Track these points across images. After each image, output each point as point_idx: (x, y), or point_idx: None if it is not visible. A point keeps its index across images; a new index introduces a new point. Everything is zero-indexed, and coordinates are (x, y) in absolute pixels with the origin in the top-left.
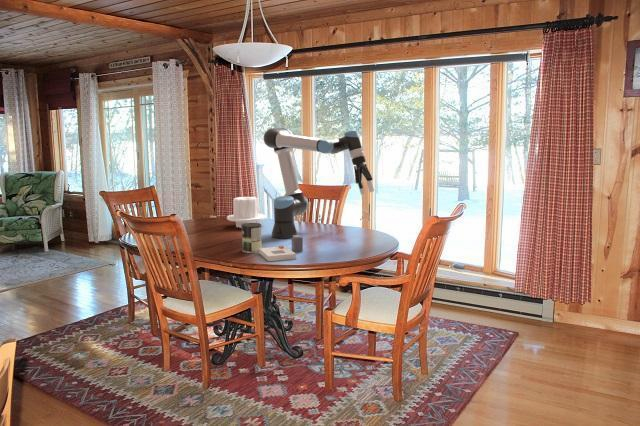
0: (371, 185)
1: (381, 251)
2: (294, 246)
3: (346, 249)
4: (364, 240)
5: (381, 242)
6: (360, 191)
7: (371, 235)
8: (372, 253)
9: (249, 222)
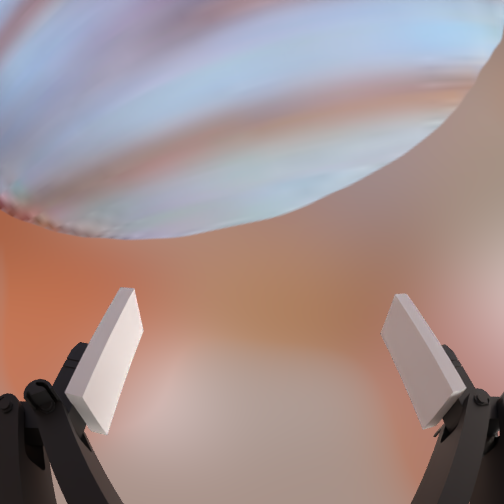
0: (405, 375)
1: (100, 225)
2: None
3: (55, 126)
4: (229, 116)
5: (220, 188)
6: (108, 314)
7: (351, 117)
8: (67, 212)
9: None
